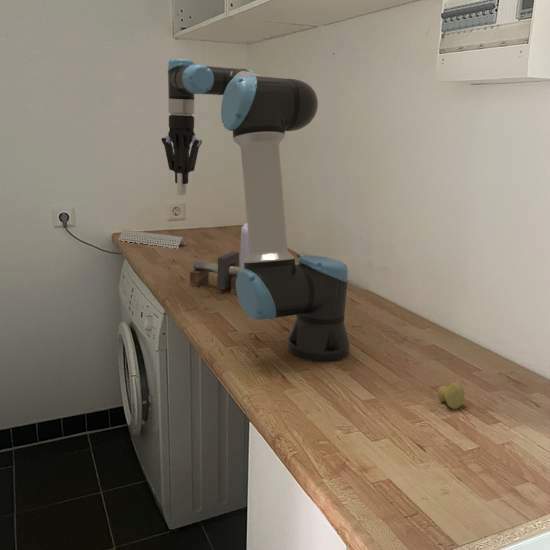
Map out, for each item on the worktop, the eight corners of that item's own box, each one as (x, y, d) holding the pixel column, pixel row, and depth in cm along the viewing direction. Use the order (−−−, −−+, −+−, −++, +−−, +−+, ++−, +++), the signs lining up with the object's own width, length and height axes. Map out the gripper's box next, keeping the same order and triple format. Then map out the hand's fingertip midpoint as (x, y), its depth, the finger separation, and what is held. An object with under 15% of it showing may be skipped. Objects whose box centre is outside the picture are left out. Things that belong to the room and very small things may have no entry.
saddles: (249, 289, 188) (249, 274, 186) (239, 295, 181) (239, 279, 180) (200, 281, 194) (200, 267, 193) (189, 286, 188) (190, 271, 186)
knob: (466, 406, 117) (470, 384, 116) (449, 412, 114) (452, 389, 113) (448, 396, 121) (451, 375, 120) (431, 402, 118) (434, 380, 117)
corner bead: (116, 242, 245) (116, 231, 244) (128, 239, 254) (128, 227, 252) (177, 250, 237) (177, 239, 235) (187, 246, 245) (187, 235, 244)
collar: (238, 281, 190) (238, 252, 187) (224, 289, 181) (224, 258, 178) (231, 280, 191) (232, 251, 188) (217, 288, 182) (217, 257, 179)
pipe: (246, 276, 184) (247, 266, 184) (242, 278, 182) (242, 268, 181) (197, 268, 191) (197, 259, 190) (193, 270, 188) (193, 261, 187)
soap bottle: (261, 265, 217) (263, 205, 210) (269, 270, 211) (271, 208, 204) (239, 267, 213) (240, 206, 207) (246, 272, 207) (247, 209, 201)
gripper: (207, 115, 171) (206, 194, 178) (169, 114, 176) (170, 191, 182) (194, 115, 165) (193, 197, 171) (155, 113, 169) (156, 193, 176)
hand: (181, 194), depth 177 cm, fingers closed
